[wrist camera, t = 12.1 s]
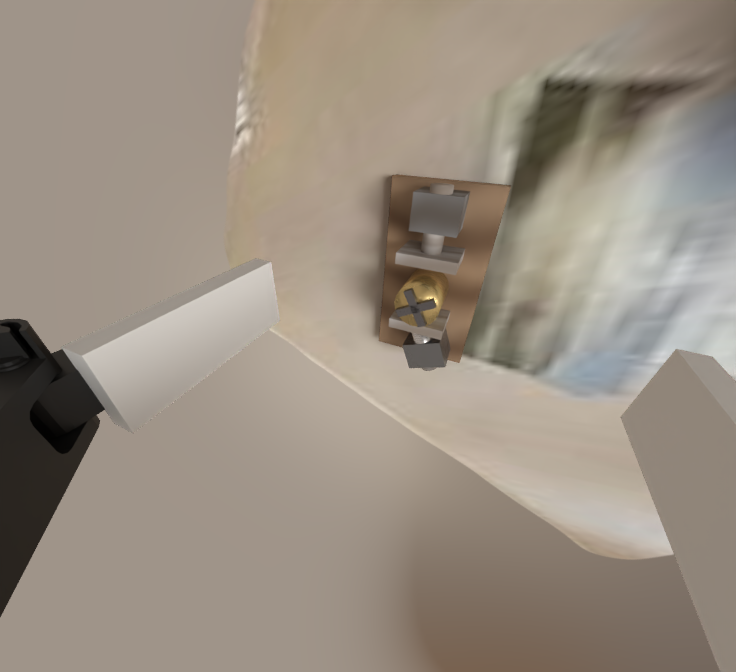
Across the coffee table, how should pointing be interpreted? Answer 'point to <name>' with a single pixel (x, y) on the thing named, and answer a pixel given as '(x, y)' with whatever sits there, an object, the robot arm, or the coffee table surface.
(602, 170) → the coffee table surface
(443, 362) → the grey block with shaft
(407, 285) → the gold rounded cylinder
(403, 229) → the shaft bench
